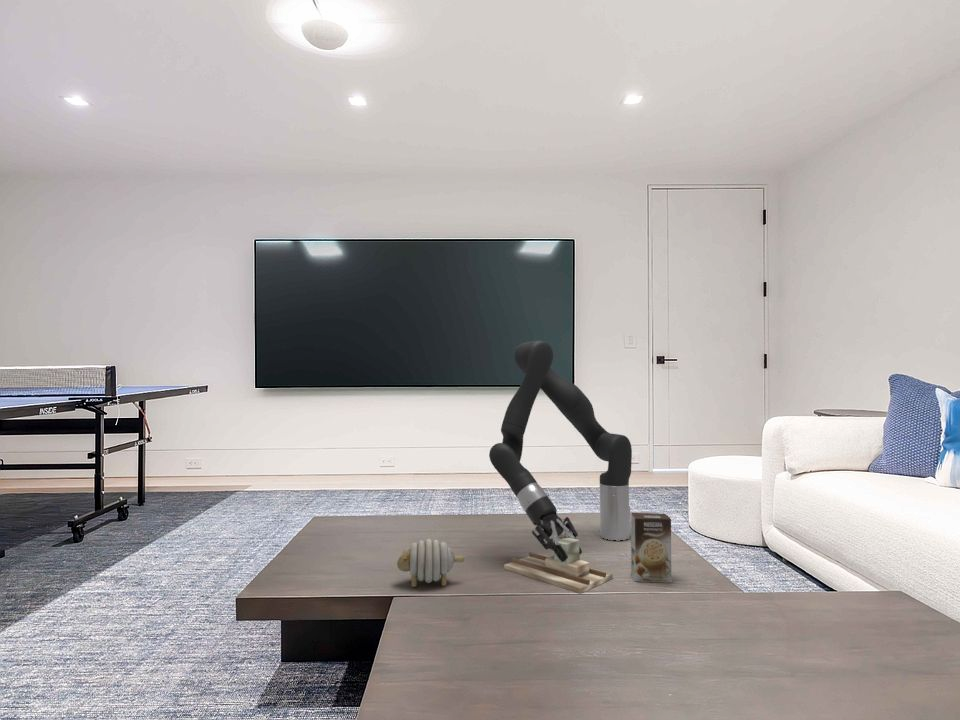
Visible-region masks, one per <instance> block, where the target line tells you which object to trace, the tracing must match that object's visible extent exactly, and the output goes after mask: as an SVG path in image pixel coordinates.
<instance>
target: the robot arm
mask: <svg viewBox="0 0 960 720" xmlns="http://www.w3.org/2000/svg"><path fill="white" fill-rule="evenodd" d="M513 358H514V361H515V364H516V366H517V367H518V369H519V370H520V371H522V373H524V377H523V380H522V382H521V383H520V386H519V387H518V389H517V391H516V392H515V393H514V395H513V397H512V398H511V399H510V401H509V403H508V406H507V407H506V410H505V413H504V417H503V420H502V423H501V427H500V433H501V434H502V442H499V443H495V444H493V446H491V448H490V450H489V454H488V455H489V461H490V462H491V465H492V466H493V468H494V469H495V470H496V471H497V472H498V474H499V475H500V476H501V477H502V478H503V480H505V482H506V483H507V484H508V486H509V488H510V489H511V491H512V492H513V494H514V495H515V497H516V499H517V500H518V502H519V505H520V506H521V508H522V509H523V511H524V512H525V514H526V515H527V517H528V518H529V520H530V521H531V523H532V524H533V525H534V528H533V529H532V531H531V534H532V535H533V536H534V537H535V538H536V540H537V541H538V542H539V543H540V544H541V547H543V548H544V549H545V550H546V551H548V550H551V551H553V553H554V552H555V554H556V555H557V557H558V558H559V559H560V560H561V562H564V561H565V560H566V559H567V558H568V556H567V554H566V553H565V551H564V550H563V548H562V547H561V545H559V542H558V540H560V539H563V538H566V537H568V538H572V539H577V537H578V535H579V534H578V531H577V530H576V529H575V526H574V525H573V523H572V522H571V520H570V518H569V517H568V516H566V517H565V518H563V519H562V518H561V517H560V516H558V513H557V510H558V509H557V507H556V506H555V505H554V504H555V503H553V501H552V500H551V499H550V497H549V496H548V495H547V493H546V491H545V490H544V489H543V487H541V485H539V483H538V482H537V480H536V479H535V478H534V476H533V474H532V473H531V471H529V470H528V469H527V467H525V466H524V465H523V464H522V463H521V460H522V454H523V448H524V436H525V433H526V429H527V425H528V423H529V419H530V416H531V412H532V409H533V406H534V405H535V400H537V396H538V394H539V392H540V390H541V391H542V392H543V394H545V395H546V396H547V398H548V399H549V400H550V401H551V402H552V403H553V404H554V405H555V407H556V408H557V409H558V410H559V412H560V413H561V414H562V415H563V416H564V417H565V418H566V420H567V421H568V422H570V423H571V424H572V426H573V427H574V428H575V429H576V431H577V432H579V434H580V435H581V436H582V438H583V439H584V440H585V441H586V443H587V444H588V446H589V447H590V448H591V450H592V452H593V453H594V454H595V455H596V456H597V458H598V459H600V460H602V461H604V462H607V463H608V464H607V471H605V472H603V473H601V474H600V475H599V519H600V522H599V525H600V531H599V532H600V537H601V538H602V539H603V538H604V539H603V540H607V539H608V541H613V540H616V541H615V542H619V541H620V540H623V541H627V540H626V539H628V540H630V538H631V536H630V535H631V507H630V484H629V483H630V482H629V481H630V478H631V475H632V474H631V473H632V460H633V459H632V457H633V454H632V453H633V452H632V451H633V450H632V444H631V441H630V439H629V438H628V437H627V436H626V435H623V434H618V433H613V432H612V433H611V432H608V431H607V430H606V429H605V428H604V427H603V426H602V425H601V424H600V423H599V422H598V420H597V418H596V415H595V411H594V407H593V404H592V402H591V401H590V400H589V398H588V397H587V396H586V394H585V393H584V392H583V391H582V390H581V389H580V388H579V387H578V386H577V385H576V384H575V383H573V382H572V381H570V380H568V379H567V378H565V377H564V376H562V375H560V374H559V373H557V372H556V371H555V370H554V369H552V367H551V366H552V364H553V361H554V360H553V359H554V351H553V347H552V346H551V345H550V343H549V342H547V341H545V340H534V341H533V340H532V341H526V342H522V343H520V344H518V345H517V346H516V347H515V350H514V353H513ZM620 542H621V541H620ZM582 554H583V550H582V548H581V547H580V546H579V556H581V555H582Z"/></svg>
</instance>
